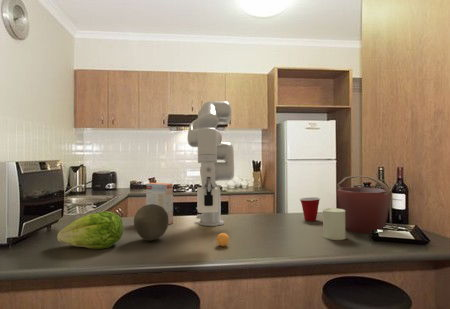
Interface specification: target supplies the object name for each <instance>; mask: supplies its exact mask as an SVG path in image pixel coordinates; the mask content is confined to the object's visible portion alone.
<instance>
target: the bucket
mask: <svg viewBox="0 0 450 309" xmlns="http://www.w3.org/2000/svg"><path fill="white" fill-rule="evenodd" d="M354 178H364V179H369V180H370V181H373V182H375V183H377V184H378V185H380V187H382V188H377V187H361V186H360V187H359V186H358V187H341V186H340V185H343V184H346V182H348V181H349V179H354ZM336 187H337V190H336V192H337V193H336V194H337V196H336V198H337V201H338V202H337V203H338V206H339V209H343V210H345V231H348V232H352V233H354V234H361V235H363V234H364V235H371V234H370V232H371V231H372V230H377V229H380V228H383V227H385V228H386V224H387V219H388V216H389V211H390V206H391V205H390V204H391V201H392V191H391V189H390V188H389V187H388V185H387V184H386V183H384V182H382V181H381V179H378V178H376V177H374V176H373V177H372V176H369V175H353V176H346V177H344V178H343V179H342V180H341V181H339V182H338V183H337V186H336Z"/></svg>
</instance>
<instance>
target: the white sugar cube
mask: <svg viewBox="0 0 450 309" xmlns="http://www.w3.org/2000/svg"><path fill="white" fill-rule="evenodd" d="M196 188H197V189H196V193H197V194H196V197H197V198H196V200H197V201H196V203H197V204H196V205H197V206H196V210H197V214H198V213H199V214H202V213H206V212H219V211H218V188H217V187H216V188H213V187H212V195H213V206H205V205H204V195H205V189H204V188H203V187H202V186H201V187H200V186H199V187H196ZM206 190H207V189H206ZM206 192H207V191H206Z"/></svg>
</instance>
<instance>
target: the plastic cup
mask: <svg viewBox="0 0 450 309" xmlns="http://www.w3.org/2000/svg"><path fill="white" fill-rule="evenodd" d="M320 200H321V198H320V197H302V198H299V201H300V204H301V206H302V207H301V208H302V213H303V217H304V221H307V222H315V221H317V217H318V212H319V204H320Z"/></svg>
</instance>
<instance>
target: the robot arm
mask: <svg viewBox="0 0 450 309" xmlns="http://www.w3.org/2000/svg"><path fill="white" fill-rule="evenodd" d="M231 120H232V107H231V104H230V103H229V102H228V101H222V100H221V101H220V100H219V101H216V100H215V101H214V100H213V101H211V100H210V101H206V102H204V103H203V104H202V106H201V109H199V110H198V112H197V118H196V119H195V120H193V121H192V122H191V123H190V124H189V127H188V130H187V136H186V137H187V142H188V145H189V147H192V148H197V164H200V168H199V173H200V179H201V187H203V188H204V189H205V195H204V205H205V206H213V195H212V187H213V188H216V187H217V188H218V211H219V212H206V213H199V214H198V213H197V214H196V219H199V225H200V226H204V227H217V226H222V225H224V224H225V223H224V220H223V219H221V217H222V214H221V213H222V212H221V210H222V209H221V203H222V202H221V189H220V188H221V187H220V186H219V185H218V183H217V182H219V181H220V182H222V181H224V182H225V181H226V182H227V181H232V180H233V179H234V177H235V160H234V159H235V158H234V157H235V154H234V146H233V144H232V143H231V142H228V141H227V142H226V141H223V136H222V133H221V132H220V130H218V129H216V128H217V126H219V125H229V124H230V122H231ZM206 189H207V190H206ZM206 191H207V192H206Z"/></svg>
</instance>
